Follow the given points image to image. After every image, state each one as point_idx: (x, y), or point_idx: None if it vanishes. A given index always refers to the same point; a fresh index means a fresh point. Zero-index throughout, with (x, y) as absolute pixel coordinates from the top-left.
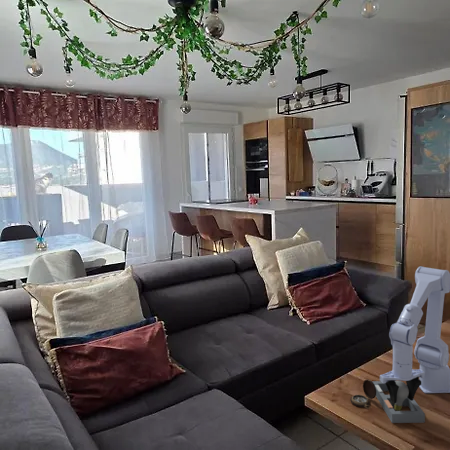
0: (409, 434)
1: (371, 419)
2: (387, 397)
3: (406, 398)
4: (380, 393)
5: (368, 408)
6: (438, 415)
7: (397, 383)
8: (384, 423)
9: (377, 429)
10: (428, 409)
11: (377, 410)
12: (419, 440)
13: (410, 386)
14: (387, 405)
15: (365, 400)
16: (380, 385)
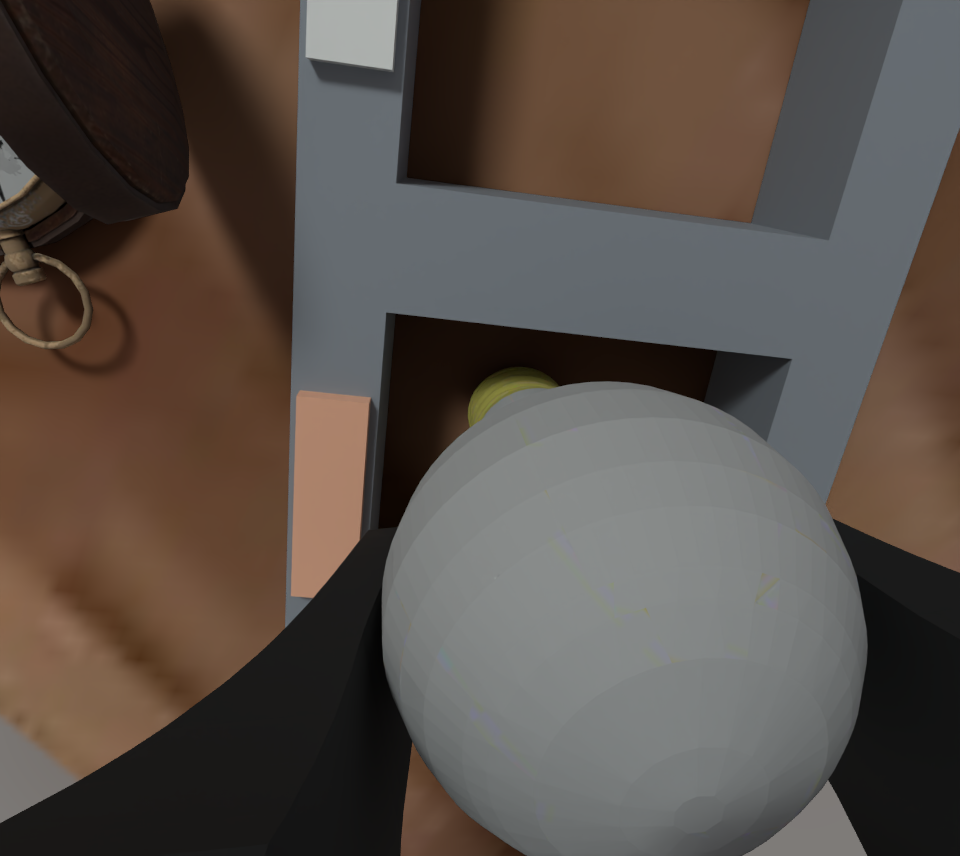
0: (416, 777)
1: (65, 528)
2: (411, 288)
3: (755, 351)
4: (324, 117)
5: (50, 346)
6: (953, 549)
7: (562, 823)
8: (214, 611)
9: (93, 690)
10: (941, 426)
11: (214, 354)
12: (466, 844)
13: (903, 793)
14: (293, 536)
15: (12, 161)
16: None
